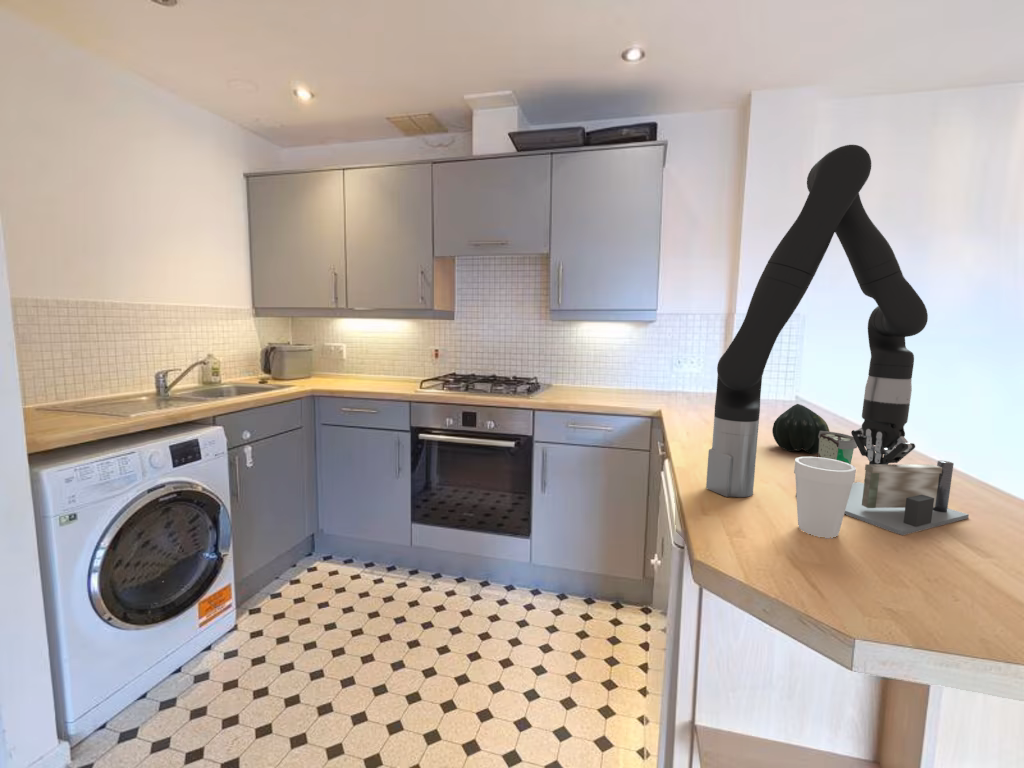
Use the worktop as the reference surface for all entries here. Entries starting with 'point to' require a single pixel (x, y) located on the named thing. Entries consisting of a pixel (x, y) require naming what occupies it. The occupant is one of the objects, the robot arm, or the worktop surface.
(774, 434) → the squash
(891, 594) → the worktop surface
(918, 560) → the worktop surface
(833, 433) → the food container
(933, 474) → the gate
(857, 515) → the plaque display stand
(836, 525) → the foam cup
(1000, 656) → the worktop surface
